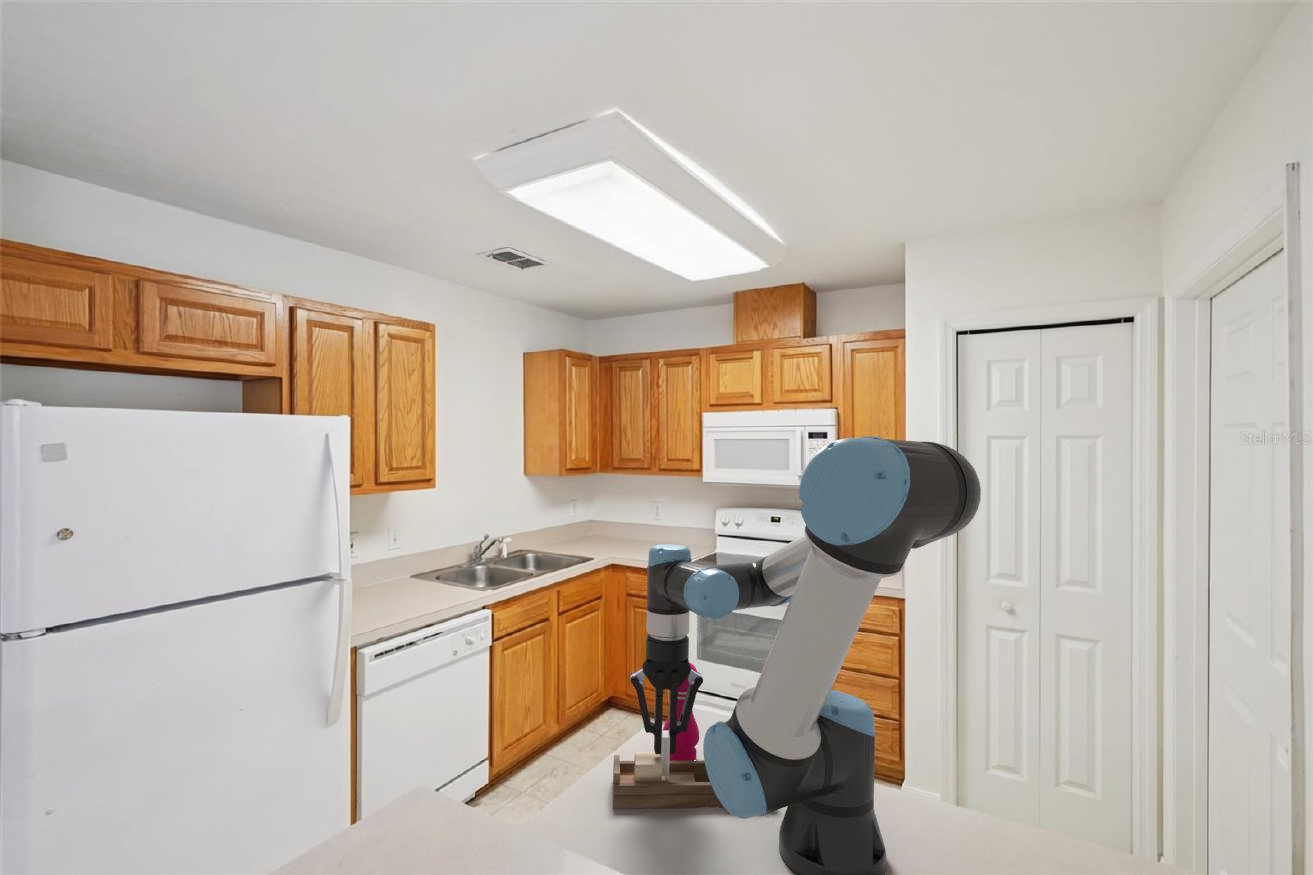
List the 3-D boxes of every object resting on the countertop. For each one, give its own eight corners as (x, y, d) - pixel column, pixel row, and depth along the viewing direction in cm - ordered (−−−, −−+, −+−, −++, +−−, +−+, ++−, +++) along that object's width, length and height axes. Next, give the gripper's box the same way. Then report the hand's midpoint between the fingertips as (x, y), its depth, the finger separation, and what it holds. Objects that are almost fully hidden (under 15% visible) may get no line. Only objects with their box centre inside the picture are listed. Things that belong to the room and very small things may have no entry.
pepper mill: (695, 770, 114) (698, 661, 115) (657, 764, 116) (660, 657, 116) (701, 752, 121) (704, 650, 122) (665, 747, 123) (668, 646, 123)
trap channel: (774, 806, 102) (774, 776, 102) (613, 808, 100) (614, 777, 101) (761, 779, 111) (761, 751, 111) (612, 780, 109) (613, 751, 110)
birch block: (661, 788, 103) (662, 764, 103) (634, 788, 103) (635, 764, 103) (659, 775, 108) (660, 752, 108) (633, 775, 107) (634, 752, 107)
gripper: (701, 628, 111) (698, 761, 110) (630, 628, 110) (626, 761, 109) (707, 640, 103) (704, 783, 102) (631, 640, 103) (627, 783, 102)
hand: (664, 772), depth 106 cm, fingers closed
